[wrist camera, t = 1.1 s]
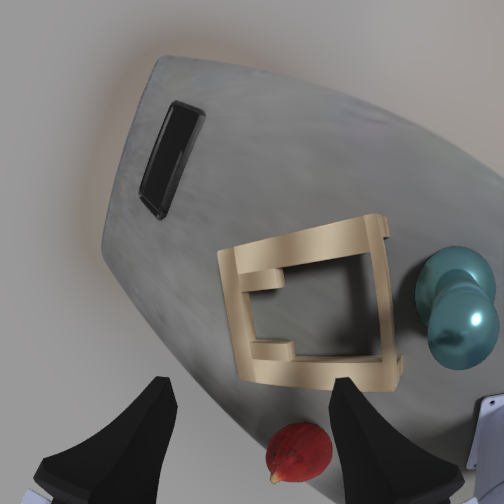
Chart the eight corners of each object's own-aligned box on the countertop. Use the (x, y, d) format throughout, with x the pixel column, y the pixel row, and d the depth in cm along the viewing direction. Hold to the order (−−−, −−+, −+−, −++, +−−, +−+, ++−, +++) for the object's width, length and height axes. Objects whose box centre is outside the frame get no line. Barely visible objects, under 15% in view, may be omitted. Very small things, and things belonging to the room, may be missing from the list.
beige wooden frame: (385, 216, 19) (375, 213, 17) (403, 370, 18) (394, 391, 16) (242, 249, 28) (217, 251, 25) (262, 367, 27) (239, 379, 24)
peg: (486, 239, 14) (523, 241, 7) (492, 322, 14) (520, 388, 6) (412, 253, 18) (387, 268, 10) (420, 333, 18) (396, 402, 10)
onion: (285, 413, 26) (233, 453, 19) (332, 403, 22) (284, 452, 16) (306, 455, 24) (261, 499, 18) (353, 449, 21) (313, 504, 14)
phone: (137, 195, 39) (172, 99, 34) (143, 195, 40) (179, 101, 34) (160, 221, 35) (203, 110, 30) (167, 221, 36) (210, 113, 31)
